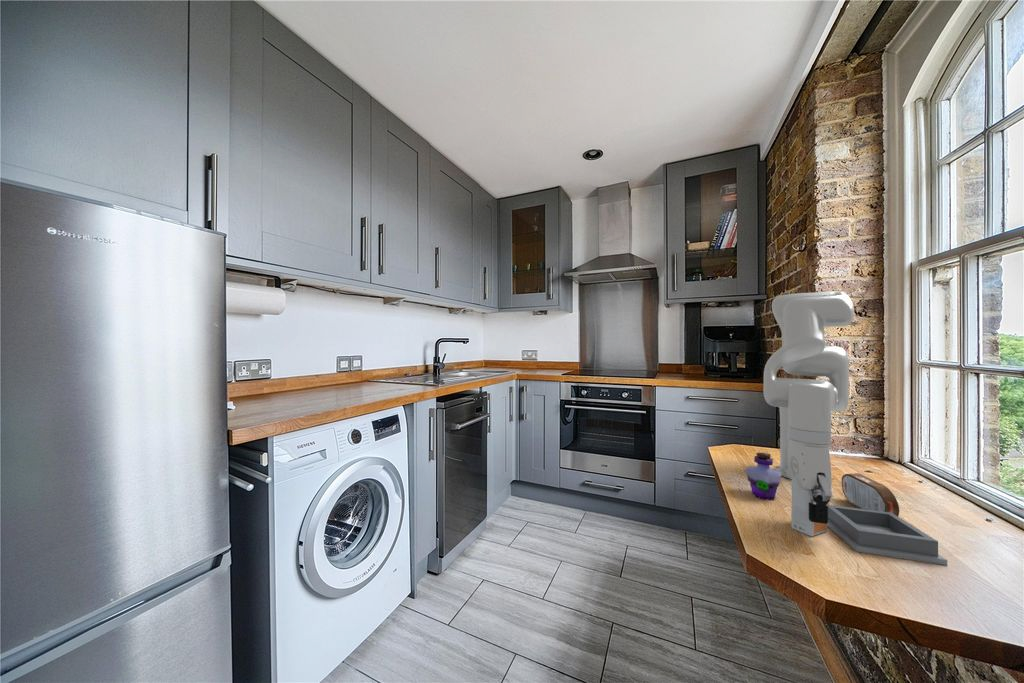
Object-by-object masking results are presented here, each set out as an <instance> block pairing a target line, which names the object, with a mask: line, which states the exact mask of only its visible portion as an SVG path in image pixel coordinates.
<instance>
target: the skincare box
mask: <svg viewBox="0 0 1024 683" xmlns="http://www.w3.org/2000/svg"><path fill="white" fill-rule="evenodd" d="M813 489H820V487H815V486H814V487H813ZM820 490H821V489H820ZM814 494H815V498H816V497H817V495H820V493H815V492H814ZM809 502H810V503H811V500H810V495H809V490H804V489H802V488H801V487H800V486H799V485H797V478H796V477H792V480H791V514H790V515H791V517H790V518H791V526H790V527H791V529H793V530H795V531H798V532H799V533H802V534H805V535H807V536H809V537H815V536H817V535H820V534H822V533H825V532H826V533H827V530H828V529H827V527H828V526H827V524H824V523H817V522H811V521H810V520H809Z"/></svg>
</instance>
